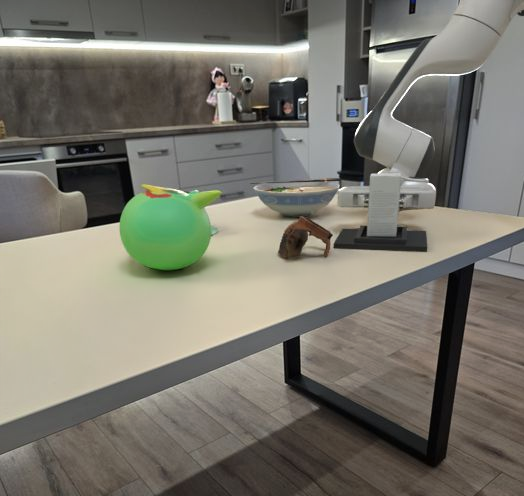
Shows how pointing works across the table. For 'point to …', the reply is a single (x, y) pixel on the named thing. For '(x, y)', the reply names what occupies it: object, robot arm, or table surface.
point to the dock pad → (382, 240)
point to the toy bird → (167, 227)
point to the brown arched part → (302, 237)
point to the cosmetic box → (383, 204)
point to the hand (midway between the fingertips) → (383, 203)
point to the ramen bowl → (297, 195)
